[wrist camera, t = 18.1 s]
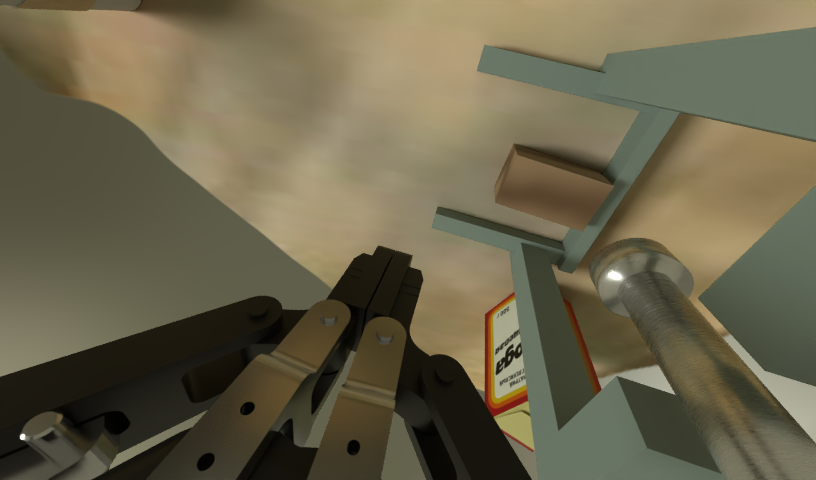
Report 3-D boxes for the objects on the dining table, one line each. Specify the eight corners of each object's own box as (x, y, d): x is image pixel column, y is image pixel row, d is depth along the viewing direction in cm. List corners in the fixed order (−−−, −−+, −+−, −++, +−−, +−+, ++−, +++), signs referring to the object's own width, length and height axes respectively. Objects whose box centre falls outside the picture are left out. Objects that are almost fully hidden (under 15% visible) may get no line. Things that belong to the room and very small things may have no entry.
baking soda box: (533, 277, 38) (560, 390, 25) (570, 304, 39) (615, 428, 25) (485, 314, 43) (484, 425, 30) (518, 337, 44) (532, 455, 30)
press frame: (490, 26, 26) (510, -192, 4) (684, 71, 25) (2241, 87, 3) (431, 230, 38) (356, 447, 16) (560, 268, 36) (670, 564, 15)
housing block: (513, 143, 31) (517, 155, 26) (596, 169, 30) (614, 186, 26) (494, 186, 33) (495, 202, 29) (570, 211, 33) (582, 231, 29)
